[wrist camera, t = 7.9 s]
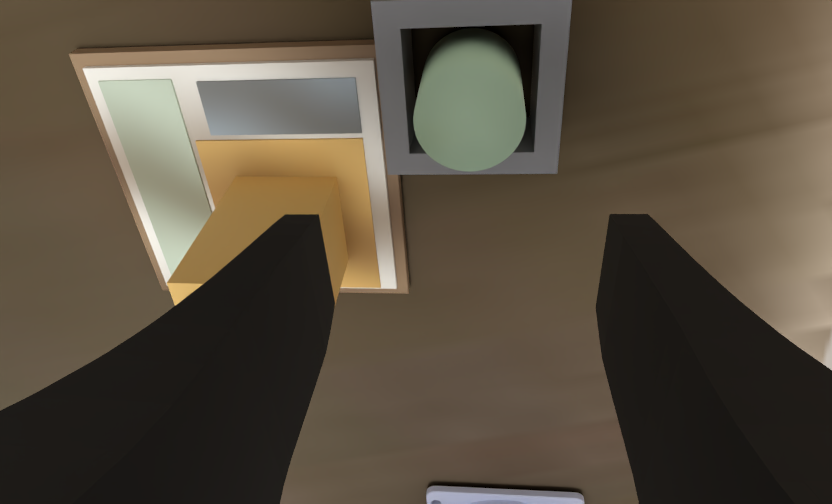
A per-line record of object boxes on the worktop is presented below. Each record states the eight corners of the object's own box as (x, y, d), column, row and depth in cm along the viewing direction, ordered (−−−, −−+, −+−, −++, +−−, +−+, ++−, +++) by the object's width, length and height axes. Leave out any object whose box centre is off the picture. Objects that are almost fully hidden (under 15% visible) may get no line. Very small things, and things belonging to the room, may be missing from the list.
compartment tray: (409, 285, 24) (407, 298, 24) (167, 282, 25) (159, 294, 25) (388, 38, 19) (384, 47, 18) (77, 48, 20) (63, 57, 19)
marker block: (348, 259, 23) (307, 398, 18) (256, 258, 23) (189, 393, 18) (336, 177, 21) (286, 306, 15) (236, 176, 21) (154, 303, 16)
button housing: (550, 136, 20) (557, 173, 18) (397, 138, 20) (387, 174, 19) (562, -30, 17) (572, -7, 15) (383, -22, 18) (370, 1, 16)
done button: (518, 121, 18) (523, 170, 16) (425, 123, 19) (416, 171, 16) (523, 26, 17) (528, 65, 14) (420, 29, 17) (410, 68, 15)
